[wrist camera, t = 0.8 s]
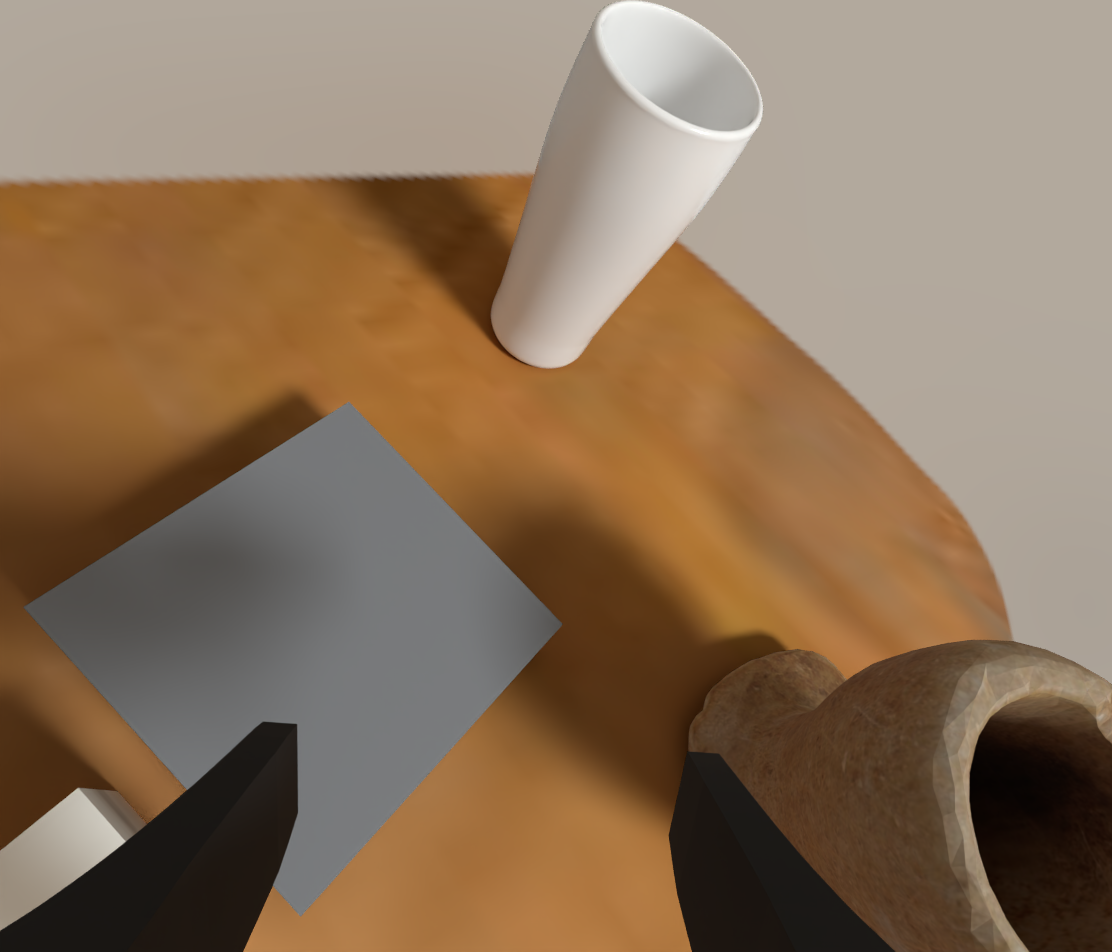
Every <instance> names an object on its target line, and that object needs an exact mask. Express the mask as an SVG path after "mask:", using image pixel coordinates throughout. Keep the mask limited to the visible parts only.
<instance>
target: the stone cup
mask: <svg viewBox="0 0 1112 952" xmlns="http://www.w3.org/2000/svg"><path fill="white" fill-rule="evenodd" d="M689 751H690V752H704V753H718V754H720V755H721V757H722V758H723V759H724V760H725V762H726V763H727V764H728V766H729V767H730V768H731V769H732V771H733V772H734V773H735V774H736V776H737V777H738V778H739V779H740V781H741V782H742V783H743V785H744V786H745V787H746V788H747V790H748V791H749V792H750V793H751V795H752V796H753V797H754V799H755V800H756V801H757V802H758V804H759V805H760V806H761V807H762V809H763V810H764V811H765V812H766V814H767V815H768V816H769V817H770V819H771V820H772V821H773V822H774V823H775V825H776V826H777V827H778V828H779V829H780V831H781V832H782V833H783V834H784V835H785V837H786V838H787V839H788V840H789V841H790V842H791V844H792V845H793V846H794V847H795V848H796V850H797V851H798V852H799V853H800V854H801V855H802V857H803V858H804V859H805V860H806V861H807V862H808V863H809V864H810V866H811V867H812V868H813V869H814V870H815V871H816V872H817V873H818V874H819V875H820V876H821V878H822V879H823V880H824V881H825V882H826V883H827V884H828V885H829V886H830V887H831V888H832V889H833V890H834V892H835V893H836V894H837V895H838V896H839V897H840V898H841V899H842V900H843V901H844V902H845V903H846V904H847V905H848V906H849V907H850V908H851V909H852V910H853V911H854V912H855V913H856V914H857V915H858V916H859V917H860V918H861V919H862V920H863V921H864V922H865V923H866V924H867V925H868V926H869V927H870V928H871V929H872V930H873V931H875V932H876V933H877V934H878V935H879V936H880V937H881V938H882V939H883V940H884V941H885V942H886V943H887V944H888V945H889V946H890V947H891V948H892V949H893V950H895V951H896V952H1112V684H1111V683H1109V682H1108V681H1107V680H1105V679H1104V678H1102V677H1100V676H1099V675H1097V674H1095V673H1093V672H1091V671H1090V670H1088V669H1086V668H1084V667H1083V666H1081V665H1079V664H1077V663H1075V662H1073V661H1071V660H1069V659H1066V658H1064V657H1062V656H1060V655H1057V654H1055V653H1053V652H1050V651H1048V650H1045V649H1041V648H1037V647H1033V646H1029V645H1025V644H1022V643H1018V642H1014V641H997V640H967V641H960V642H953V643H946V644H941V645H936V646H932V647H927V648H922V649H918V650H914V651H910V652H907V653H904V654H901V655H898V656H894V657H891V658H888V659H885V660H882V661H879V662H877V663H874V664H872V665H870V666H869V667H867V668H865V669H863V670H862V671H860V672H858V673H857V674H855V675H853V676H852V677H851V678H849V679H848V680H847V679H846V678H845V677H844V676H843V675H842V673H841V672H840V671H839V670H838V669H837V667H836V666H835V665H834V664H833V663H831V662H830V661H829V660H828V659H827V658H826V657H824V656H822V655H819V654H817V653H815V652H813V651H805V650H800V649H795V650H788V651H781V652H774V653H772V654H769V655H766V656H764V657H761V658H758V659H754V660H751V661H749V662H747V663H745V664H743V665H742V666H740V667H738V668H737V669H735V670H734V671H732V672H731V673H729V674H728V675H727V676H725V677H724V678H723V679H722V680H721V681H719V682H718V683H717V684H716V685H714V686H713V687H712V689H711V690H710V691H709V693H708V694H707V696H706V699H705V702H704V708H703V710H702V711H701V712H700V713H699V714H698V715H696V717H695V718H694V720H693V722H692V724H691V725H690V729H689Z"/></svg>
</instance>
